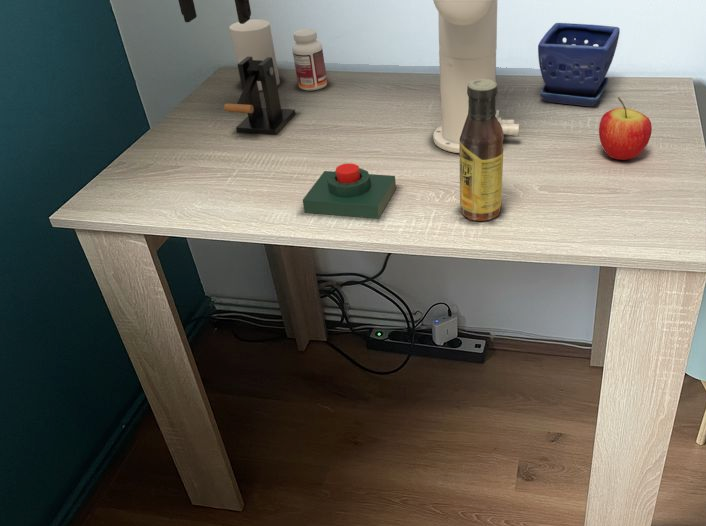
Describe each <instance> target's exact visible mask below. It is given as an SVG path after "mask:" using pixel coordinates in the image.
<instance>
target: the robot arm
mask: <svg viewBox="0 0 706 526" xmlns="http://www.w3.org/2000/svg"><path fill="white" fill-rule="evenodd" d="M177 1H178V5H179V9H180V13H181V15H182V16H183V20H184V22H185V23H190V22H192V21H193V20H194V19H196V18H197V17H198V15H197V12H196V6H195V2H194V0H177ZM432 1H433V4H434V6H435V8H436V11H437V12H438V13H437V14H438V57H439V59H438V60H439V61H438V63H439V87H440V89H439V91H440V92H439V93H440V114H441V116H440V117H441V118H440V120H441V125H440V126H438V127H437V128H436V129H435V130H434V132H433V134H432V137H433V143H434V145H435V146H437V147H438V148H439V149H442V150H443V151H446V152H450V153H454V154H460V148H459V146H460V136H461V133H462V130H463V127H464V124H465V121H466V118H467V115H468V109H469V103H468V100H469V97H468V95H467V86H468V83H470V82H471V81H473V80H476V79H489V80H493V81H495V82H496V83H497V48H498V47H497V46H498V45H497V44H498V43H497V41H498V0H432ZM234 4H235V9H236V15H237V21H238V22H239V23H240V24H244V23H246V22H247V21H248V20H251V16H252V9H251V4H250V0H234ZM495 116H496V118H497V120H498V122H500V125H501V127H502V130H503V140H504V138H505V135H508V136H518V137H519V136H520V130H521V123H516V119H511V118H510V119H503V117H500V109H496V115H495Z"/></svg>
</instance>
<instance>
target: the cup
mask: <svg viewBox="0 0 706 526" xmlns="http://www.w3.org/2000/svg"><path fill="white" fill-rule="evenodd" d="M229 32H230V36H231V41H232V46H233V51H234V55H235V61H236V65H237V64H239V63H240V62H241V61H242V60H244V59H245V58H246V57H247V56H249V57H252V59H253V60H261V61H263V60H265V59H266V58H267V57H272V59H273V65H274V71H275V76H276V82H277V86H279V85H280V83H281V81H280V76H279V70H278V63H277V58H276V53H275V46H274V41H273V35H272V29H271V23H270V22H269V21H268V20H265V19H249V20H248V21H247V22H246V23H244V24H240V23H239V21H236V22H234V23H232V24H230V26H229ZM240 84H241V83H240ZM257 84H258V89H259V92H261V91H263V90H262V85H261V81H257ZM241 86H242V84H241Z"/></svg>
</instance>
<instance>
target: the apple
mask: <svg viewBox="0 0 706 526" xmlns="http://www.w3.org/2000/svg"><path fill="white" fill-rule="evenodd" d="M617 99H618V101H619V102H620V103H621V105H622V106H623V107H616V108H612V109H610V110H608V111H606V112H605V113H604V114H603V115H602V117H601V118H600V121H599V126H598V136H599V137H598V138H599V142H600V144H601V147H602V149H603V150H604V152H605V153H606V155H608V156H609V157H610V158H612V159H614V160H619V161H626V160H631V159H634V158H636V157H637V156H638V155H640V154H641V153H642V152H643V151H644V149H645V148H646V147H647V146H648V144H649V142H650V139H651V136H652V130H653V129H652V126H653V125H652V122H651V120H650V118H649V117H648V116H646V115H645V114H644V113H642V112H640V111H638V110H635V109H632V108H627V107H626V106H625V103H624V102H623V100H622V99H621V98H620V96H618V97H617Z"/></svg>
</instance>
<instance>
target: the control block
mask: <svg viewBox="0 0 706 526" xmlns="http://www.w3.org/2000/svg"><path fill="white" fill-rule="evenodd" d="M359 171H360V180H358V181H356V182H353V183H340V182H338V181H337V176H336V170H334V171H333V170H332V171H330V170H323V172H322V173H321V175H320V176H319V177H318V179H317V180H316V181H315V183H314V184H313V185H312V186H311V188H310V189H309V191H307V193H306V195H305V196H303V199H302V205H303V211H304V213H306V214H307V213H308V214H318V215H331V216H341V217H343V216H344V217H354V218H367V219H380V217H381V215H382V213H383V212H384V210H385V208H386V206H387V204H388V203H389V201H390V200H391V198H392V196H393V195H394V193H395V191H396V189H397V184H396V176H395V175H389V174H375V173H369V172H368V170H365V169H363V168H361V167H359Z"/></svg>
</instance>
